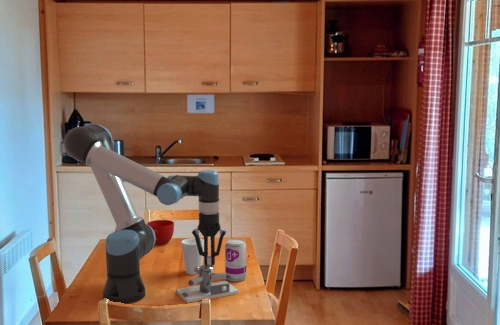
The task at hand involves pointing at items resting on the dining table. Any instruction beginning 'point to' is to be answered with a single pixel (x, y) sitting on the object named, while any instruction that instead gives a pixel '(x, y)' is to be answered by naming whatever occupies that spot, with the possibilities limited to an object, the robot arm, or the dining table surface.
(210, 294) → the stand
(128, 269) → the robot arm
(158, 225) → the ceramic cup
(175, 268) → the dining table surface
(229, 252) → the supplement can
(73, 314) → the dining table surface
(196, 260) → the foam cup
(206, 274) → the capstan
